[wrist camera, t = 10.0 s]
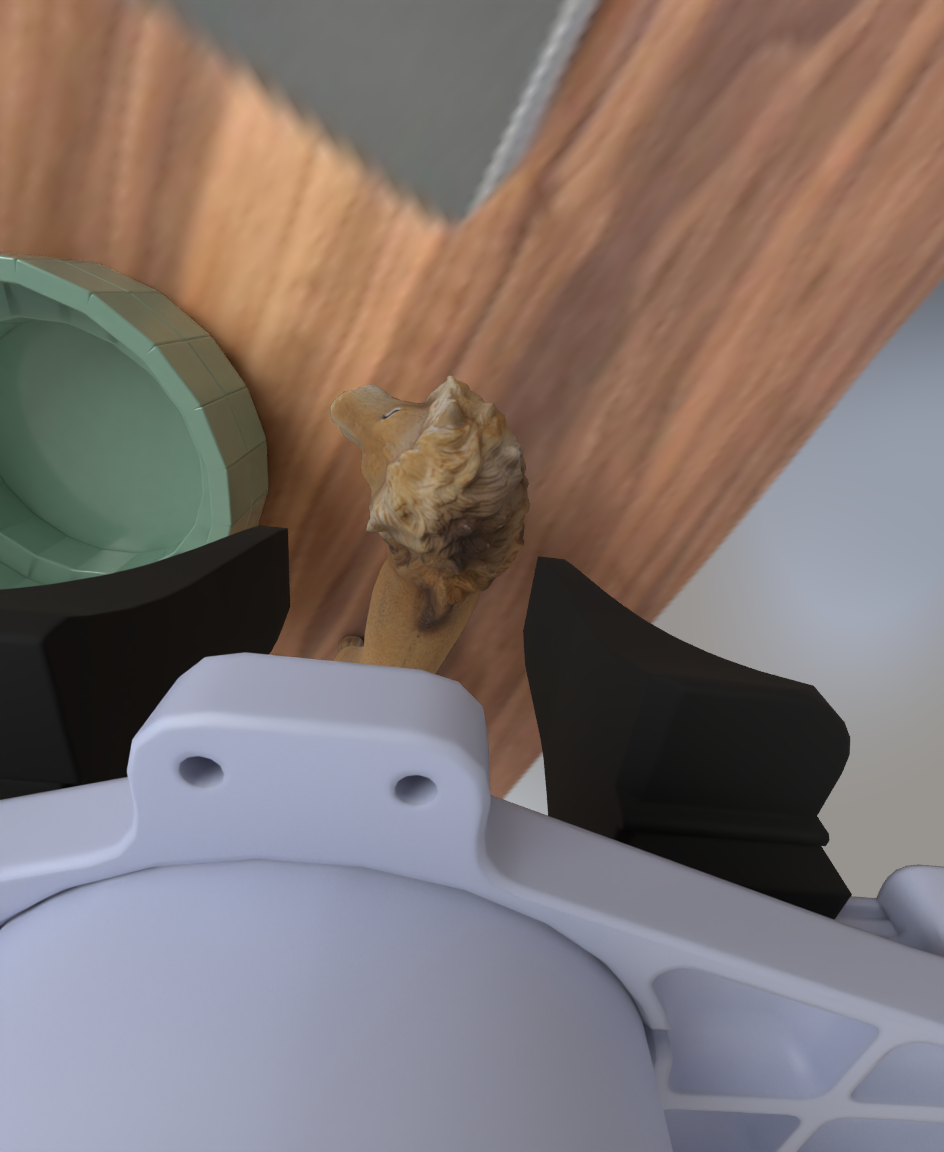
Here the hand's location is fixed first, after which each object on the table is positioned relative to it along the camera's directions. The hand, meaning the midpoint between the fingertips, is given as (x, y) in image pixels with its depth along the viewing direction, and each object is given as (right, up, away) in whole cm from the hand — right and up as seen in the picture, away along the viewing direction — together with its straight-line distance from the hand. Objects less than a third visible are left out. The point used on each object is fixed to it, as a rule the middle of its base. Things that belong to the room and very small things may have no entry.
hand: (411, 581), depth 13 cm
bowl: (-11, +5, +7) cm, 14 cm away
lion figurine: (-1, +2, +8) cm, 9 cm away
